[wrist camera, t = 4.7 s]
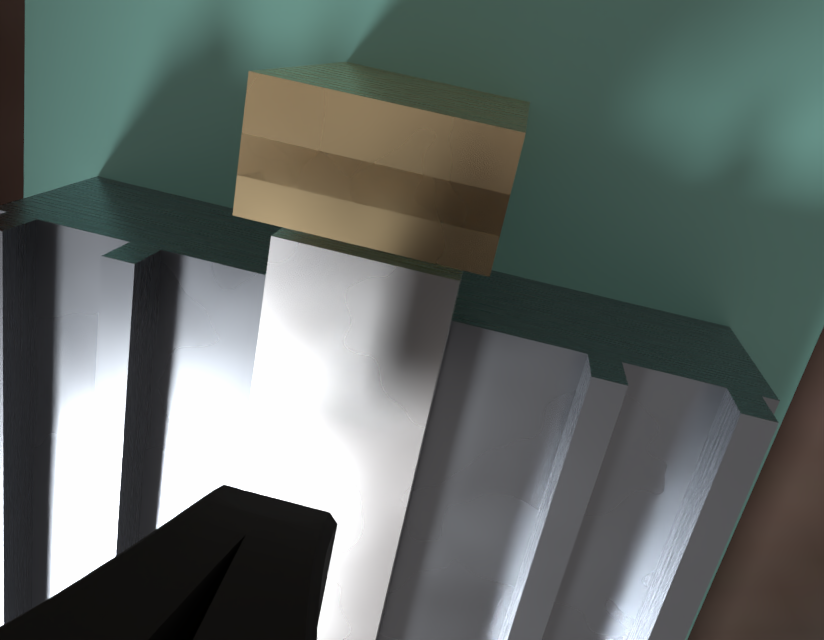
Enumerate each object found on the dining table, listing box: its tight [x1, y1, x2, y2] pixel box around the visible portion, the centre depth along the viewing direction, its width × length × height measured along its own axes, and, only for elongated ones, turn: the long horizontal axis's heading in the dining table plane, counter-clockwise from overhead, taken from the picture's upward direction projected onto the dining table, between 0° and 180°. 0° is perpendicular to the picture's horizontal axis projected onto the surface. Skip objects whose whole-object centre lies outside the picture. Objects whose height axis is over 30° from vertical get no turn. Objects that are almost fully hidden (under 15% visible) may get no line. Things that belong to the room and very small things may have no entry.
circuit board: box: [24, 0, 824, 640], centre depth 17 cm, size 15×24×1 cm, turn 169°
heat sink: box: [0, 62, 780, 640], centre depth 14 cm, size 12×17×5 cm
